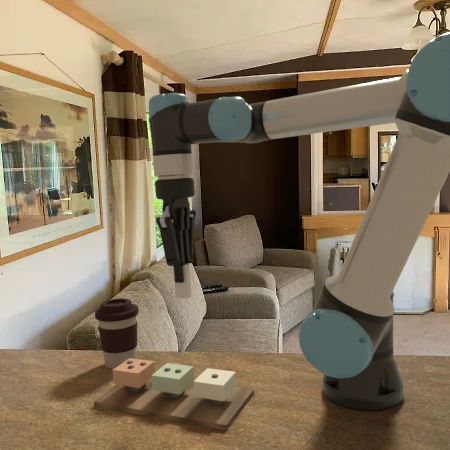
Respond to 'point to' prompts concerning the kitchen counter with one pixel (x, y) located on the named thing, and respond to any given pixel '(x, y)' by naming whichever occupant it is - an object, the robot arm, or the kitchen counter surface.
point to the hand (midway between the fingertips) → (183, 297)
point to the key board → (176, 405)
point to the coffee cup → (117, 330)
